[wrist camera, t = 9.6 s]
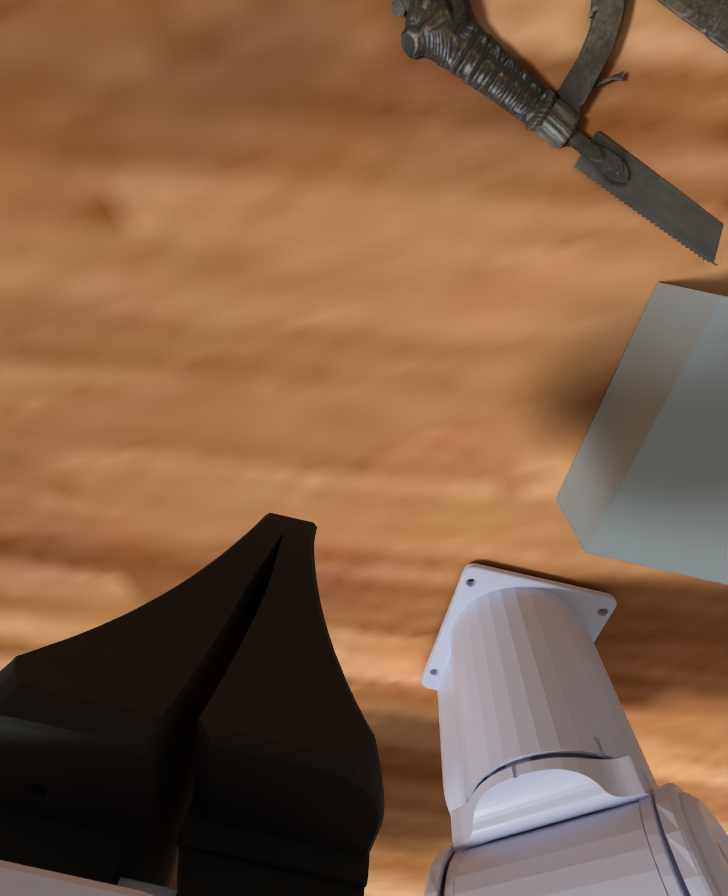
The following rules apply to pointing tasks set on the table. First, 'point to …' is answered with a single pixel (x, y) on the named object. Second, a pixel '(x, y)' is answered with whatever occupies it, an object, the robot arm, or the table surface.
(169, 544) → the table surface
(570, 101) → the hacksaw
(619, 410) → the gray rectangular block
